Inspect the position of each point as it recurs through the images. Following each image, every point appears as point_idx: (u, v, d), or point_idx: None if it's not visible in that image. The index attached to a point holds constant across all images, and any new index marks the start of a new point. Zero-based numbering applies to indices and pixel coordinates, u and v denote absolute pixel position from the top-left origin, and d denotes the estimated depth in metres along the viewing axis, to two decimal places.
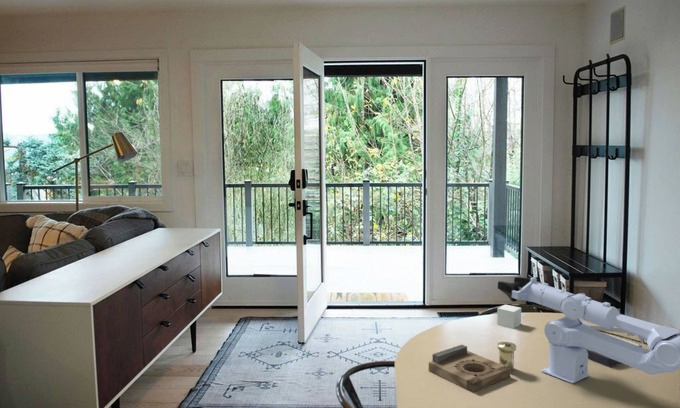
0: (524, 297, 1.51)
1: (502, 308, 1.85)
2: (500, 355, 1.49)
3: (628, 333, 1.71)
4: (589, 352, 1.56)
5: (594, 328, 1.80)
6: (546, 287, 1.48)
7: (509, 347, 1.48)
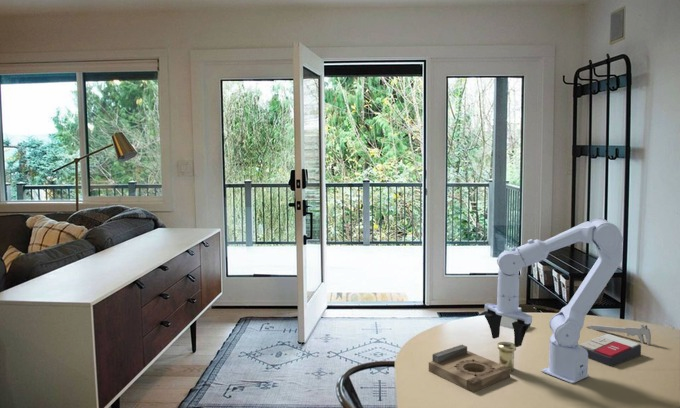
0: (520, 313, 1.46)
1: None
2: (500, 355, 1.49)
3: (628, 333, 1.71)
4: (590, 352, 1.56)
5: (594, 328, 1.80)
6: (504, 296, 1.45)
7: (509, 347, 1.48)
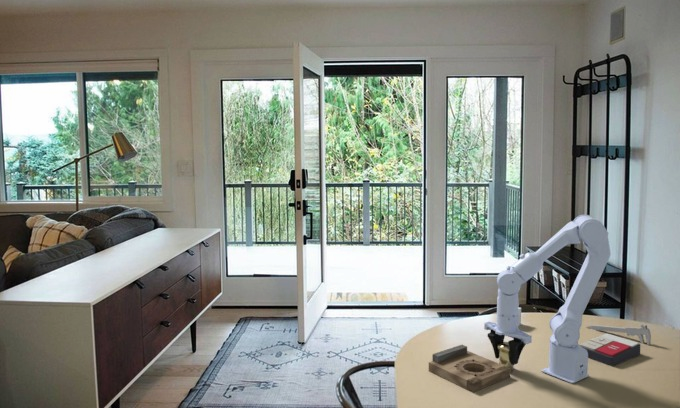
0: (520, 333, 1.47)
1: None
2: (500, 355, 1.49)
3: (628, 333, 1.71)
4: (591, 351, 1.56)
5: (594, 328, 1.80)
6: (503, 316, 1.46)
7: (509, 347, 1.48)
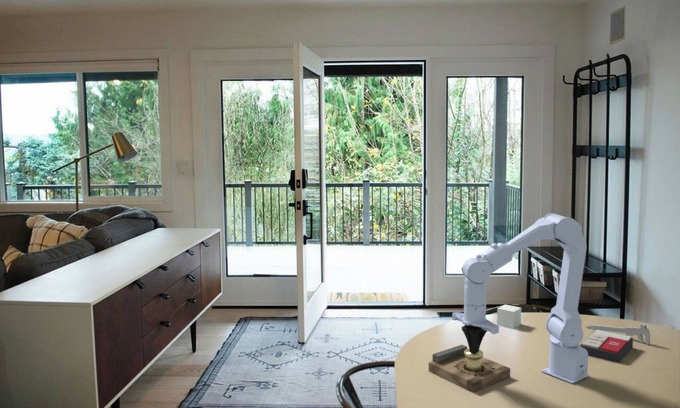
0: (487, 323, 1.42)
1: (502, 308, 1.85)
2: (467, 363, 1.44)
3: (627, 333, 1.71)
4: (595, 350, 1.57)
5: (593, 328, 1.80)
6: (470, 305, 1.41)
7: (475, 354, 1.43)
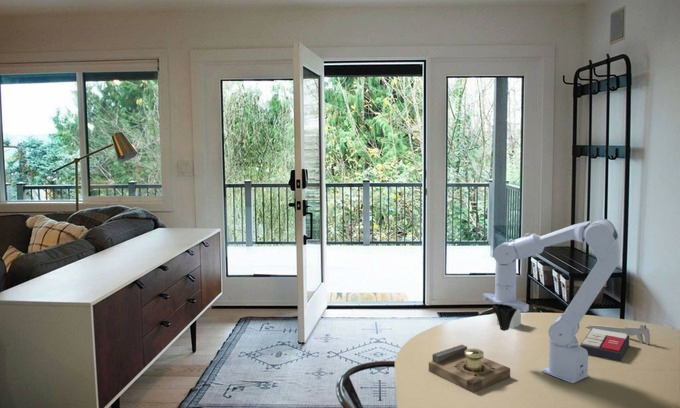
0: (517, 302, 1.52)
1: None
2: (467, 363, 1.44)
3: (627, 333, 1.71)
4: (596, 349, 1.58)
5: None
6: (501, 285, 1.51)
7: (476, 354, 1.43)
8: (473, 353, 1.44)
